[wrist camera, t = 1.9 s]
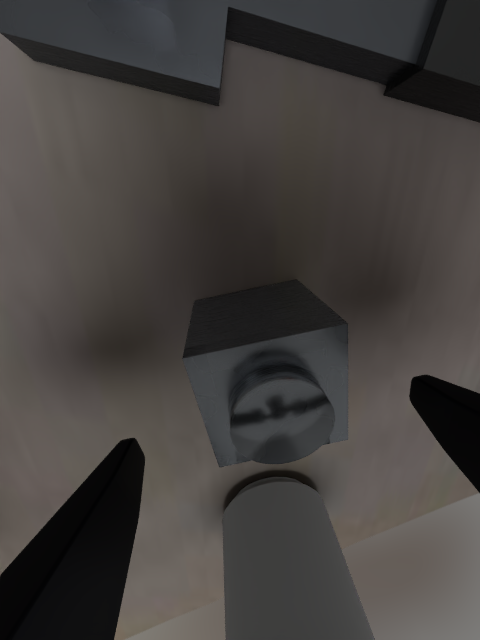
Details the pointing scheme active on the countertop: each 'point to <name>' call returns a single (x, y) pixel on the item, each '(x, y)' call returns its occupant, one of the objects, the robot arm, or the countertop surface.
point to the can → (286, 568)
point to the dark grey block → (268, 373)
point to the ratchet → (260, 42)
